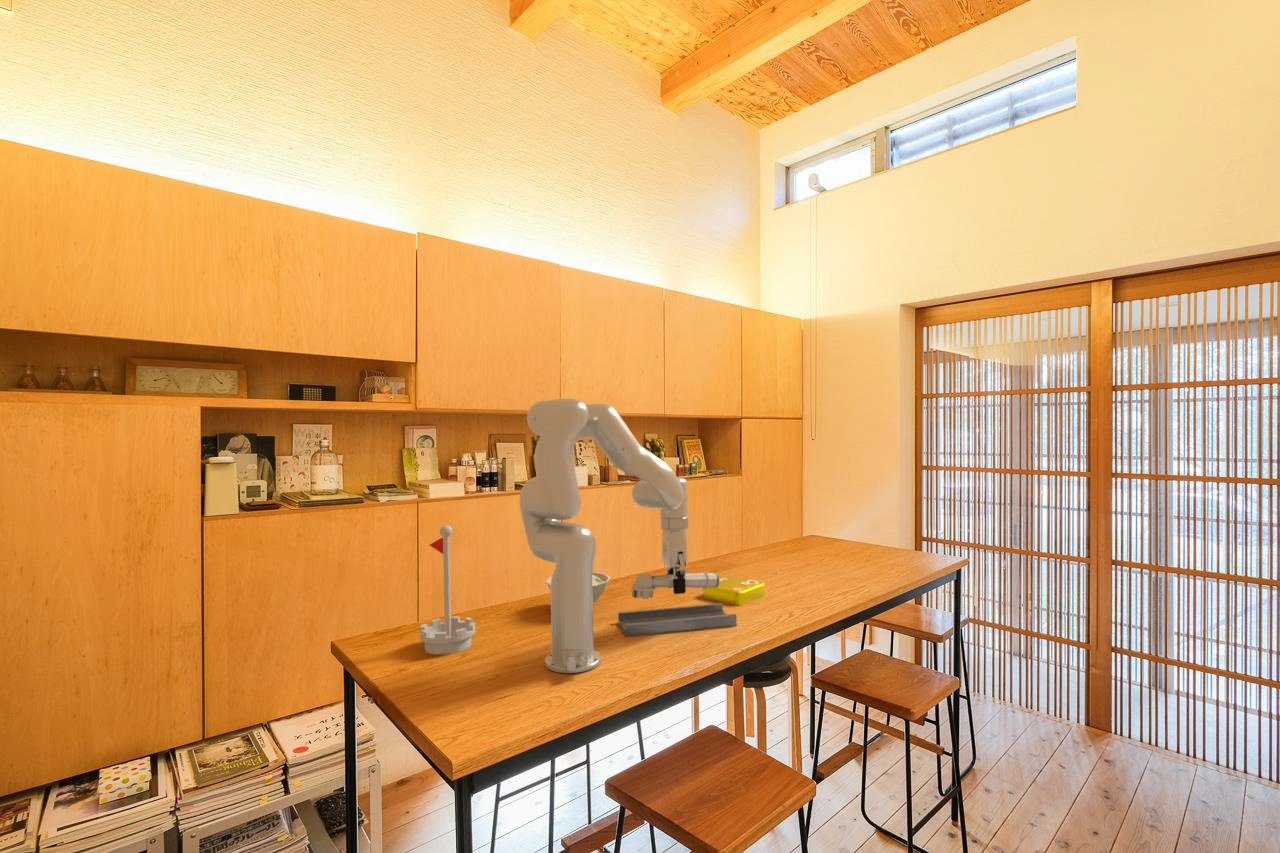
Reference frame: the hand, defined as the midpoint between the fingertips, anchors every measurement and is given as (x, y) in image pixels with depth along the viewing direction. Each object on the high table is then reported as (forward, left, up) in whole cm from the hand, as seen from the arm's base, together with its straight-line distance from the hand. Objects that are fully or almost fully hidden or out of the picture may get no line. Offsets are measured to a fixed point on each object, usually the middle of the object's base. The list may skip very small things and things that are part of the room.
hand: (676, 589), depth 158 cm
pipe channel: (0, 0, -9) cm, 9 cm away
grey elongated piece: (0, 0, -1) cm, 1 cm away
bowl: (+21, +24, -9) cm, 33 cm away
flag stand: (0, +59, -9) cm, 60 cm away
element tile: (+21, -25, -10) cm, 34 cm away
